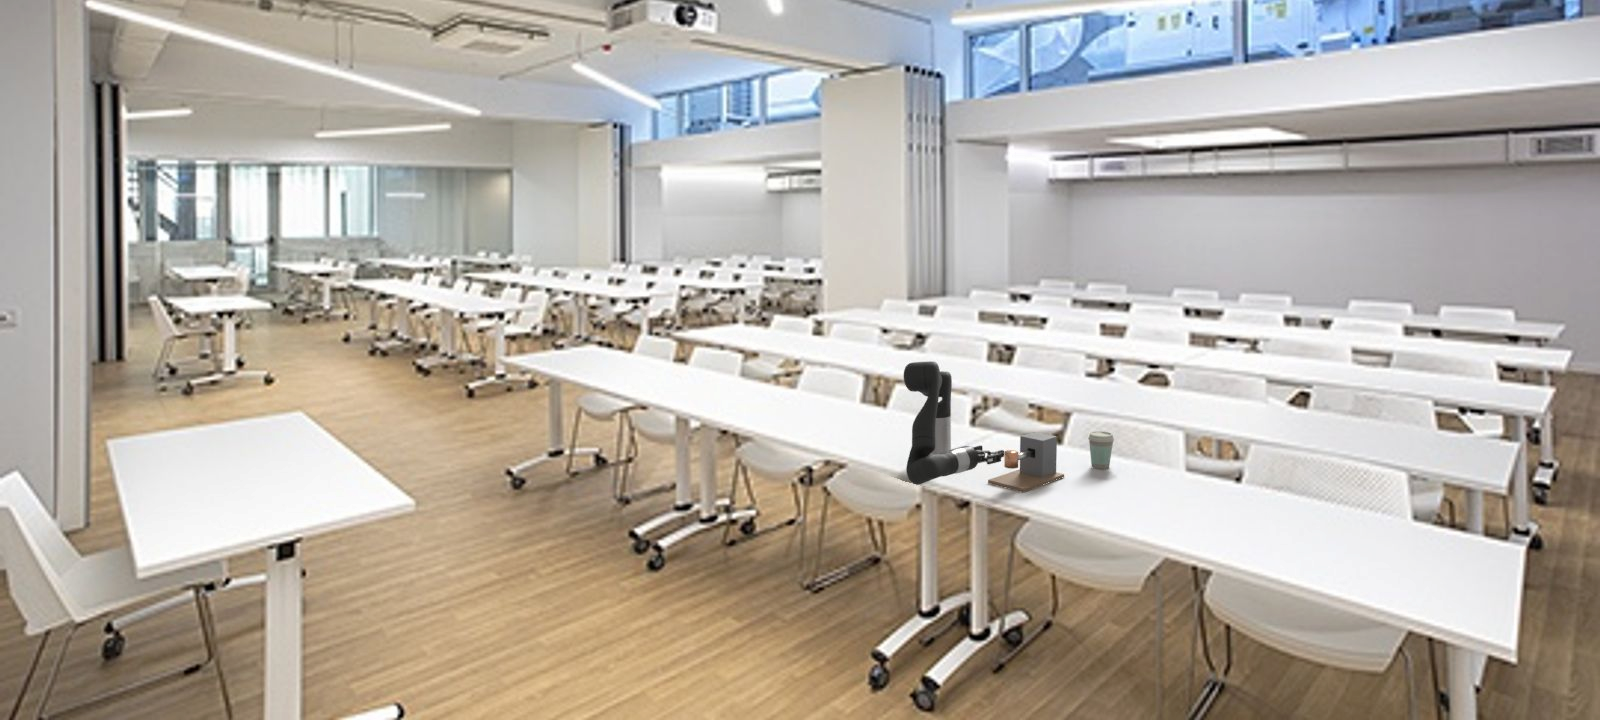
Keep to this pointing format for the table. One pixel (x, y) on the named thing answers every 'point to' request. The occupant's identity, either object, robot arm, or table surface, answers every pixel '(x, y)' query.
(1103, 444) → the coffee cup
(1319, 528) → the table surface
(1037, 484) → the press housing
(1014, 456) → the plunger
